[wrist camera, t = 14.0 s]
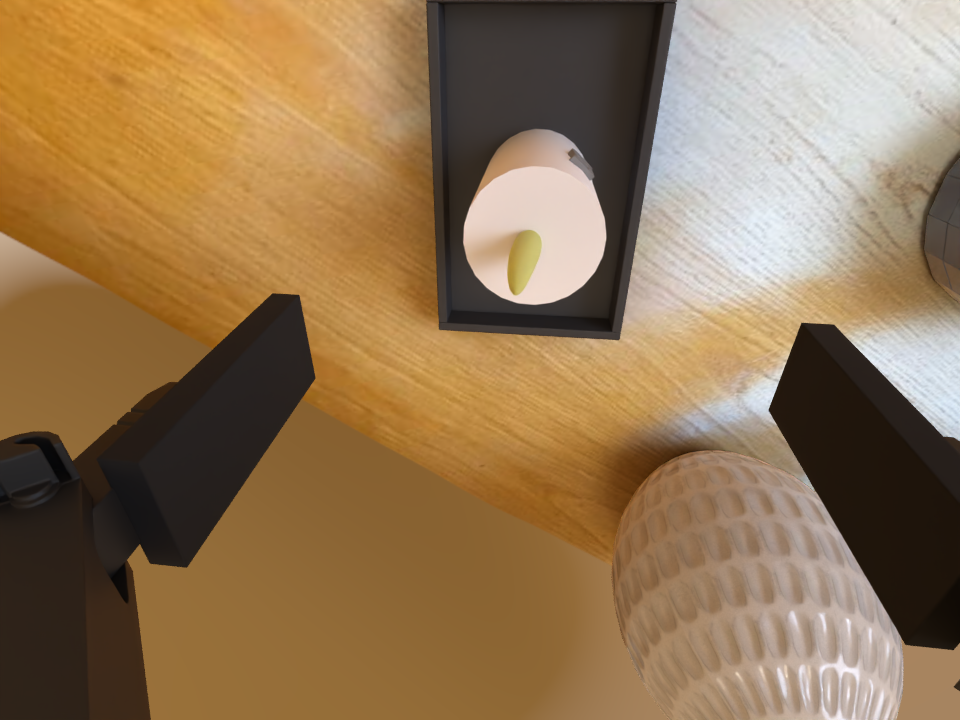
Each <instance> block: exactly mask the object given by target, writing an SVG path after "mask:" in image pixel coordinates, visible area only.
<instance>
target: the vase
mask: <svg viewBox="0 0 960 720" xmlns="http://www.w3.org/2000/svg"><path fill="white" fill-rule="evenodd" d="M611 578H612V587H613V595H614V603H615V609H616V614H617V618H618V622H619V626H620V631H621V635H622V638H623V641H624V643H625V645H626V648H627V650H628V653H629V655H630V658H631V660H632V662H633V665H634V667H635V669H636V671H637V673H638V675H639V676H640V678H641V680H642V682H643V683H644V685H645V687H646V689H647V691H648V692H649V694H650V695H651V697H652V698H653V700H654V701H655V702H656V704H657V705H658V707H659V708H660V709H661V711H662V712H663V714H664V715H665V716H666V717H667V719H668V720H896V718H897V715H898V710H899V706H900V702H901V698H902V693H903V653H902V644H901V636H900V635H899V633H898V631H897V629H896V628H895V626H894V624H893V623H892V621H891V619H890V617H889V616H888V614H887V612H886V611H885V609H884V607H883V605H882V604H881V602H880V600H879V599H878V597H877V595H876V593H875V592H874V590H873V588H872V587H871V585H870V583H869V581H868V580H867V578H866V576H865V575H864V573H863V571H862V569H861V568H860V566H859V564H858V563H857V561H856V559H855V557H854V556H853V554H852V552H851V551H850V549H849V547H848V545H847V544H846V542H845V540H844V539H843V537H842V535H841V533H840V532H839V530H838V528H837V527H836V525H835V523H834V521H833V520H832V518H831V516H830V515H829V513H828V511H827V510H826V508H825V506H824V504H823V503H822V501H821V499H820V498H819V496H818V494H817V493H816V492H815V491H813V490H812V489H811V488H810V487H808V486H807V485H806V484H804V483H803V482H802V481H800V480H799V479H797V478H796V477H794V476H792V475H791V474H789V473H787V472H785V471H783V470H781V469H779V468H777V467H775V466H772V465H770V464H768V463H766V462H763V461H761V460H758V459H756V458H753V457H749V456H746V455H742V454H738V453H734V452H729V451H721V450H704V451H695V452H691V453H686V454H683V455H681V456H678V457H676V458H674V459H672V460H670V461H668V462H666V463H664V464H663V465H661V466H660V467H658V468H657V469H656V470H655V471H653V472H652V473H651V474H650V475H649V476H648V477H647V478H646V480H645V481H644V482H643V483H642V484H641V485H640V487H639V488H638V489H637V490H636V492H635V494H634V495H633V497H632V499H631V500H630V502H629V504H628V505H627V507H626V509H625V511H624V512H623V514H622V517H621V520H620V523H619V527H618V530H617V534H616V538H615V541H614V546H613V561H612V577H611Z"/></svg>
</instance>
